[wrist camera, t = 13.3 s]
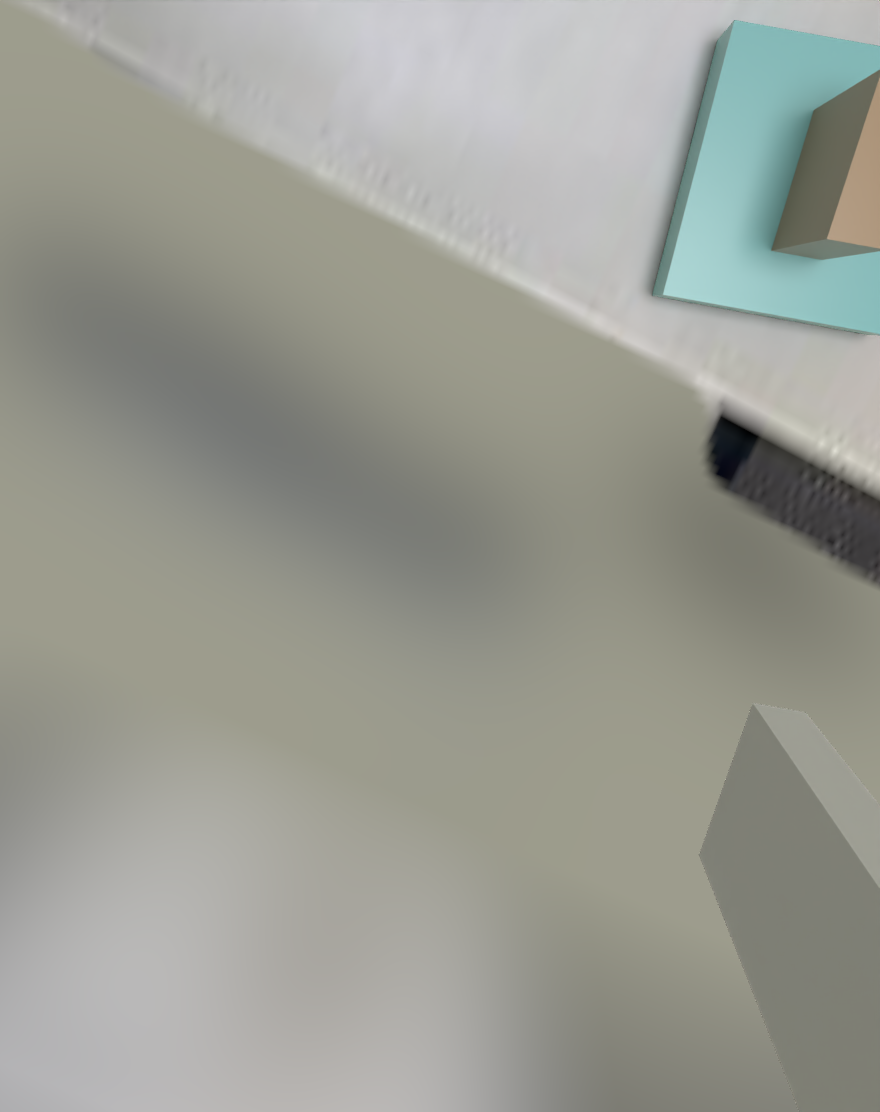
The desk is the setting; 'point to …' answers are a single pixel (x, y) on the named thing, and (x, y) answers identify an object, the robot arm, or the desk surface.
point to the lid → (782, 183)
